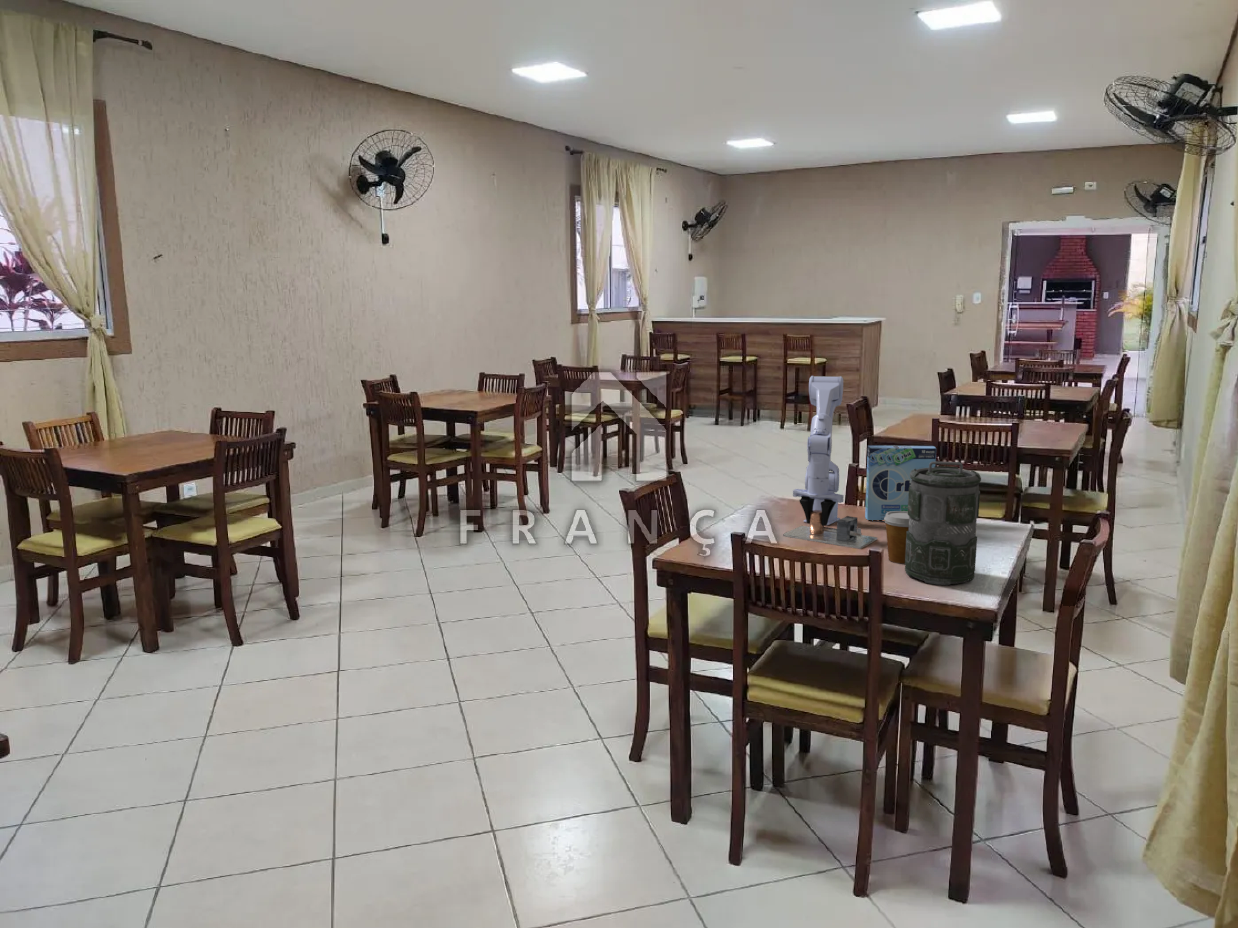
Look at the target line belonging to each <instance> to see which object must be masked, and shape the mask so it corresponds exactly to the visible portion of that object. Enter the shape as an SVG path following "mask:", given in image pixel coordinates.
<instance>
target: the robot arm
mask: <svg viewBox="0 0 1238 928" xmlns="http://www.w3.org/2000/svg"><path fill="white" fill-rule="evenodd" d="M808 381H809V382H808V394H809V402H810V404H811V405H812V406H814V407H816V415H814V416H813V417H812V418H811V425H810V432H809V436H808V437H807V442H806V452H807V461H808V465H807V467H806V468H805V469H806V471H805V477H804V489H803V488H795V489H793V490H792V496H793V497H794V498H797V497H799V498H800V499H799V501H798V502H799V504H800V505H801V507H802V510H803V513H804V516H805V519H804V520H803V522H804V523H806V524H809V525H810V511H812V510H821V511H822V526H824V527H826V526H830V525H831V524H833V523H837V521H838V520H840V519H841V517H838V516H839V515H838V511H839V508H838V507H839V503H840V504H841V503H844V496H845V495H844V494H840V493H838V492H839V489H840V469H839V466H838V465H837V464H836V463H834V462H833V461H832V460H831V459H832V458H831V455H832V451H833V450H832V448H833V421H834V420H833V419H834V413H835V410H836V407H839V406H841V405H842V402H843V395H844V394H843V393H844V378H843V377H842V375H839V376H814V375H811V376H810V377H809V380H808Z"/></svg>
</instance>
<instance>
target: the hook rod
mask: <svg viewBox="0 0 1238 928" xmlns="http://www.w3.org/2000/svg"><path fill="white" fill-rule="evenodd" d="M809 527H810V533H811V534H823V533H824V531H827V532H833V533H837V528H835V527H834V528H833V527H830V526H829V527H828V526H827V527H826V526H822V511H821V510H812V511H810V523H809ZM850 535H852V536H858V537H861V535H863V534H862V528H861V527H857V532H855V531H850Z"/></svg>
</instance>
